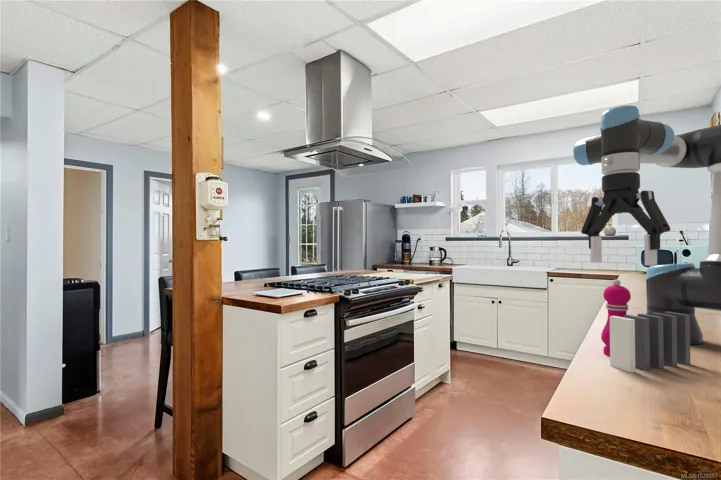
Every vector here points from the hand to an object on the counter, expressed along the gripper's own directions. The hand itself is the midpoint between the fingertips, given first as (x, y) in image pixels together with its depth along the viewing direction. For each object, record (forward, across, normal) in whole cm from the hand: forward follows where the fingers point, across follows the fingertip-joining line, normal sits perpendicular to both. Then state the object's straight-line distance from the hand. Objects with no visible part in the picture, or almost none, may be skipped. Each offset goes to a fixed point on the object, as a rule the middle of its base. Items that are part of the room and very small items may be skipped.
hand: (621, 263), depth 91 cm
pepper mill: (+25, -8, +9) cm, 28 cm away
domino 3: (+25, 0, +13) cm, 28 cm away
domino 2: (+25, 0, +9) cm, 26 cm away
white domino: (+25, 0, 0) cm, 25 cm away
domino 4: (+25, 0, +18) cm, 31 cm away
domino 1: (+25, 0, +4) cm, 25 cm away
